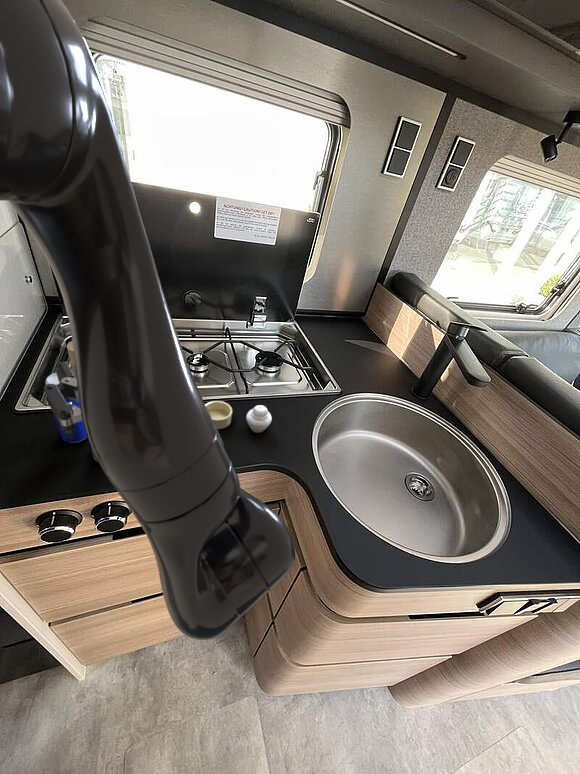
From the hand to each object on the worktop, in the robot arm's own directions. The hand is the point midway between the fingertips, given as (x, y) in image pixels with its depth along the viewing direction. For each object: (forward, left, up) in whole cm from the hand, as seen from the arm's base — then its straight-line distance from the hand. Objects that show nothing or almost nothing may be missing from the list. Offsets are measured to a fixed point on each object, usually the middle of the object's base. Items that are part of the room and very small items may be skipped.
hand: (100, 360), depth 45 cm
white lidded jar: (+32, +2, -30) cm, 44 cm away
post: (0, +11, -30) cm, 32 cm away
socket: (+25, +10, -30) cm, 40 cm away
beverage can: (-3, +19, -30) cm, 36 cm away
